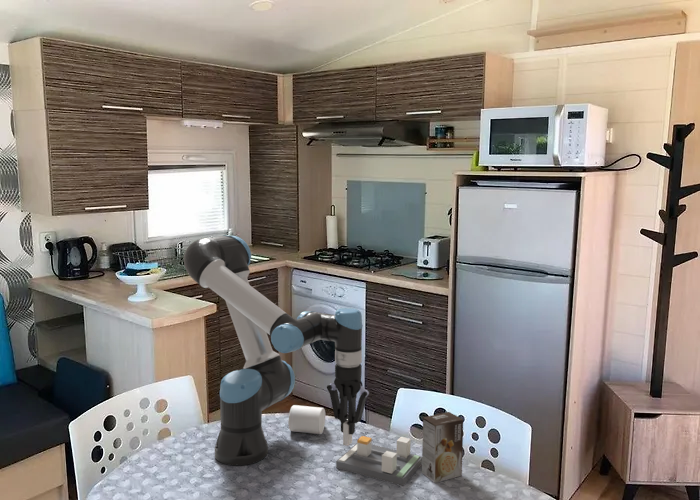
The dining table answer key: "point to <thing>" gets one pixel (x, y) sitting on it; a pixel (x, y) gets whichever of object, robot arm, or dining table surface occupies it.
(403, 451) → the block
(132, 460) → the dining table surface
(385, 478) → the panel
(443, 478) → the brown tall rectangular box
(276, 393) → the robot arm
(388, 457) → the block
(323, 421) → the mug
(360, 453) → the block
